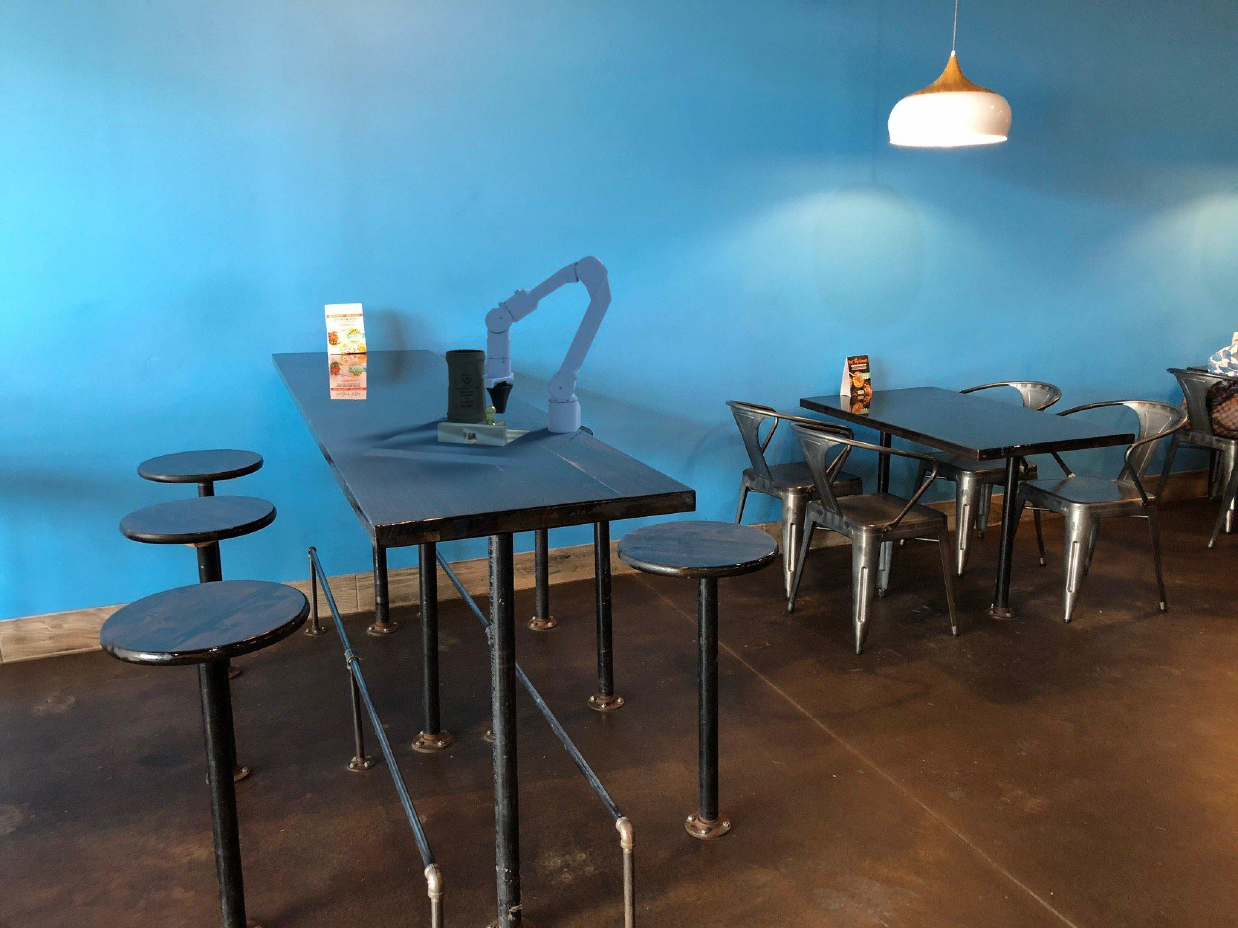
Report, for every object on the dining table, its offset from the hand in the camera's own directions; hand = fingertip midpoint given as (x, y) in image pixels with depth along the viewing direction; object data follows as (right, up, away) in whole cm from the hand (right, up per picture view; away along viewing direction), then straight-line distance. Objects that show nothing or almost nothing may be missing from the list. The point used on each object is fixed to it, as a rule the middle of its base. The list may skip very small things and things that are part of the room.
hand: (499, 413), depth 232 cm
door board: (-2, -7, -8) cm, 11 cm away
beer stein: (-10, -3, +12) cm, 16 cm away
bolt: (-2, -6, -8) cm, 10 cm away
